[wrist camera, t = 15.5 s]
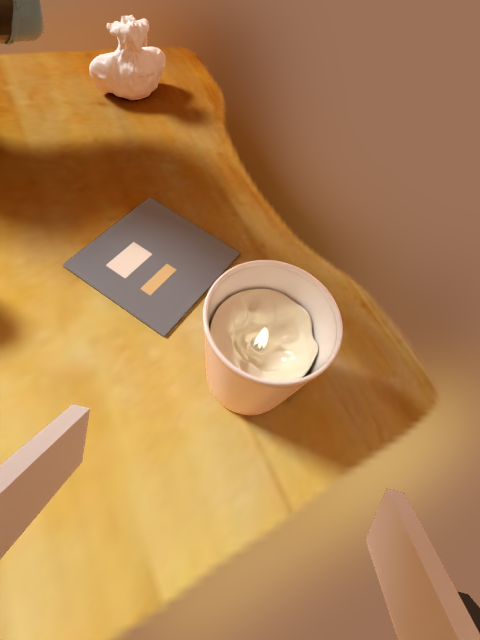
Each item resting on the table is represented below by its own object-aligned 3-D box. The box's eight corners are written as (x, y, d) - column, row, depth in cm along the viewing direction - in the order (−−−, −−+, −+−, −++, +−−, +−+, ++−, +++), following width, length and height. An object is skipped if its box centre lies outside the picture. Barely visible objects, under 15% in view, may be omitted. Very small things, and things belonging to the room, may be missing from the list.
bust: (101, 116, 53) (109, 77, 43) (77, 63, 51) (79, 9, 41) (169, 101, 57) (190, 61, 47) (149, 51, 55) (167, 0, 45)
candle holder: (283, 326, 37) (321, 255, 26) (306, 416, 32) (363, 375, 22) (193, 334, 35) (195, 262, 24) (204, 431, 30) (212, 394, 20)
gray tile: (63, 266, 36) (62, 264, 36) (149, 198, 43) (149, 196, 43) (164, 337, 34) (163, 335, 34) (240, 254, 40) (240, 252, 40)
